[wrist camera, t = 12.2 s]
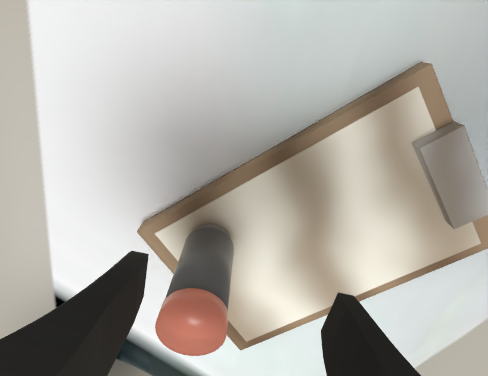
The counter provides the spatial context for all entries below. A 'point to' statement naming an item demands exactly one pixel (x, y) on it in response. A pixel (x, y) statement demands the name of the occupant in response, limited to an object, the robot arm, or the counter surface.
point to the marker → (198, 294)
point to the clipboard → (340, 209)
